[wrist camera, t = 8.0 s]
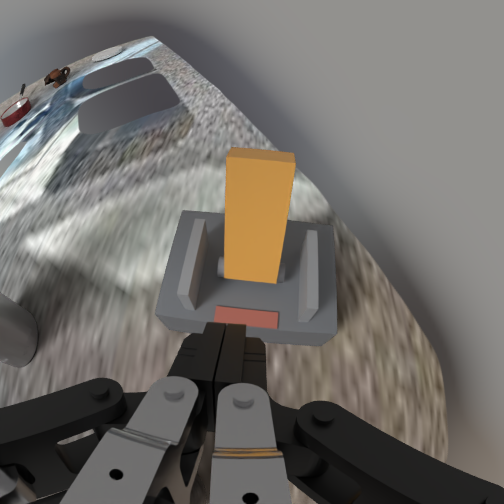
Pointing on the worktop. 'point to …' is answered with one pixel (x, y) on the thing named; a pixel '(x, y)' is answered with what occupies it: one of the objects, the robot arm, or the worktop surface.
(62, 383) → the worktop surface
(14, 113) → the frying pan
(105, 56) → the plastic lid
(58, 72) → the brown arched piece
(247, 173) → the lever
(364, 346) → the worktop surface
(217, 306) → the switch box
